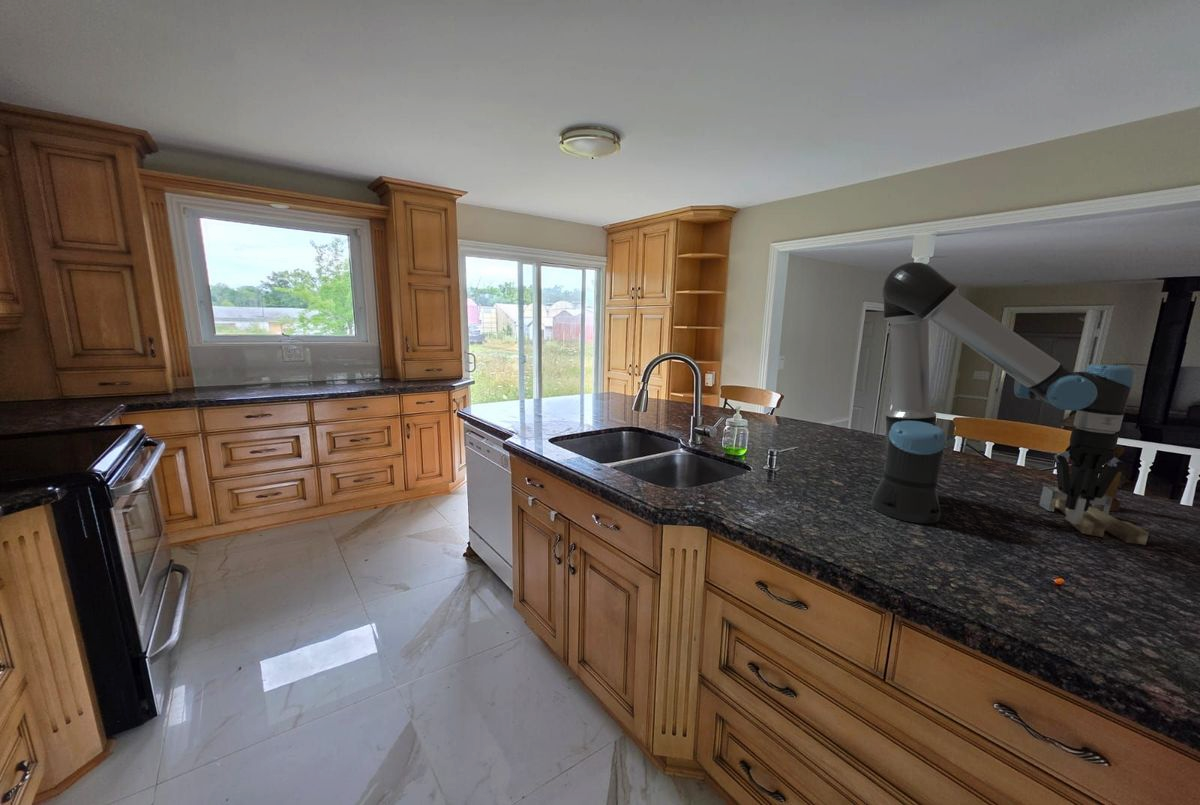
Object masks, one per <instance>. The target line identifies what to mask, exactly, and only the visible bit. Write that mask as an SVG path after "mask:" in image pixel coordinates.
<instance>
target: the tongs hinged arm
mask: <svg viewBox="0 0 1200 805" xmlns="http://www.w3.org/2000/svg"><path fill="white" fill-rule="evenodd" d="M1065 503H1066V500H1058V499H1057V501H1056V505H1055V508H1057V509H1058V510H1059V511H1061V512H1062V513H1063V514H1065V515H1067V511H1068V508H1066V507H1065ZM1070 524H1071V526H1073V527H1074V528H1075V529H1077V530H1078V531H1079V532H1080V533H1081V534H1084V535H1089V536H1095V537H1098V538H1099V537H1100V538H1104V534H1105V531H1106V530H1105V527H1106V525H1105V524H1103V523H1102V522H1101V521H1099V520H1098V519H1096V518H1095V517H1094V516H1092V515H1091V514H1090V513H1088V512H1087V511H1083V515H1082V519H1081V523H1080V525H1078V524H1073V523H1071V522H1070Z"/></svg>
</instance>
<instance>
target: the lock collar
mask: <svg viewBox="0 0 1200 805" xmlns="http://www.w3.org/2000/svg"><path fill="white" fill-rule="evenodd" d="M1057 499H1058V500H1066V499H1067V494H1065V493H1063V492H1061V491H1059V490H1058V486H1050V485H1049V486H1048V485H1043V486H1042V492H1041V495H1040V500H1039V504H1038V505H1039V506H1040V507H1042V508H1043V509H1045V510H1046V511H1048V512H1055V508H1056V506H1055V505H1056V501H1057ZM1112 499H1113V498H1112V497H1110V496H1108V495H1105V494H1104V495H1103V497H1102V498H1095V500H1093V501H1091V500H1090V503H1091V504H1092V506H1093V507H1095V508H1097V509H1098V510H1100V511H1102V512H1104V513H1106V514H1108V515H1110V514H1109V513H1110V511H1109V510H1110V506H1111V502H1112Z"/></svg>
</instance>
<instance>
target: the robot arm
mask: <svg viewBox="0 0 1200 805" xmlns="http://www.w3.org/2000/svg"><path fill="white" fill-rule="evenodd" d="M882 298H883V319H884V320H885V321H886V322H887V323H889V325H890V352H891V353H890V356H891V357H890V359H891V361H890V364H891V365H890V366H891V368H890V369H891V371H890V372H891V409H890V410H888V412H886V413H885V423H886V424H885V426H886V427H885V429H886V430H885V443H886V456H885V463H884V468H883V473H882V474H883V476H882V479H881V480H880V481H879V484H878V485H877V487H876V489H875V490H874V492H873V494H872V496H871V500H870V501H871V502H870V506H871V507H872V508H873V509H874V510H876V511H877V512H879V513H881V514H882V515H885V516H886V517H887V516H888V517H890V518H893V519H897V520H900V521H905V522H908V523H916V524H925V525H926V524H934V523H938V522H939V521H940V518H941V513H942V512H941V510H942V509H941V505H940V500H939V496H938V492H937V485H938V480H939V475H940V470H941V464H942V459H943V455H944V454H943V452H944V448H945V446H946V443H947V442H946V433H945V430H944V429H942V428H941V427H939V426H938V425H937V413H935V412H934V411H933V410H932V409H930V366H929V365H930V364H929V363H930V362H929V361H930V360H929V359H930V358H929V356H930V355H929V354H930V353H929V352H930V351H929V349H930V346H929V345H930V341H929V340H930V339H929V333H930V332H929V321H932V322H934V323H935V324H936V325H938V326H939V327H941V328H942V329H943V330H945V331H946V332H948V333H949V334H951V336H954V337H955V338H956V339H957V340H959V341H961V342H962V343H963V344H965V345H966V346H967V347H969V348H971V350H974V351H975V353H977V354H979V355H980V356H982V357H983V358H984V359H986V360H988V361H989V362H990V363H991V364H993V365H995V366H996V367H997V368H998V369H1000V370H1001V371H1003V372H1005V373H1006V374H1007V375H1008V376H1010V377H1012V378H1013V379H1014V383H1013V393H1014V395H1015V397H1016V398H1020V399H1027V400H1030V401H1031V400H1035V401H1036V400H1038V401H1041V402H1044V403H1046V404H1048V405H1051V406H1052V407H1054V408H1055V409H1059V410H1062V411H1063V410H1065V411H1076V413H1075V416H1074V421H1073V426H1075V427H1073V428H1072V429H1071V432H1070V433H1071V434H1070V437H1069V446H1067V447H1066V448H1065V451H1063V452H1060V453H1056V452H1055V453H1052V456H1051V457H1052V459H1053V460H1054V461H1055V466H1056V469H1055V470H1056V477H1057V478H1056V479H1057V487H1058V490H1059V491H1061V492H1063V493H1065V494H1067V499H1066V503H1065V507H1066V508H1068V511H1067V515H1066V514H1065V515H1066V516H1065V520H1066V521H1068V522H1069V523H1070V524H1071V523H1073V524H1078V525H1080V523H1081V519H1082V515H1083V511H1087V510H1088V507H1089V504H1090V500H1091V501H1093V500H1095V498H1102V497H1103V495H1104V494H1105V492H1106V491H1107V489H1108V487H1109V486H1110V484H1111V483H1112V481H1113V479H1114V478H1115V476H1116V474H1117V473H1118V471H1119V470H1121V471H1122V469H1123V468H1125V467H1126V466H1127V464H1126V462H1125V461H1122V460H1119V459H1116V458H1115V454H1114V451H1113V450H1114V448H1116V445H1118V441H1119V436H1120V435H1119V434H1118V433H1117V432H1120V431H1121V428H1122V422H1123V419H1124V416H1125V411H1126V407H1127V404H1128V400H1129V397H1130V394H1131V390H1132V389H1133V383H1134V382H1133V381H1134V376H1135V375H1134V374H1135V373H1134V372H1135V371H1134V369H1133V368H1132V367H1129V366H1126V365H1114V364H1098V363H1097V364H1095V363H1091V364H1088V365H1087V366H1086V369H1085V370H1084V371H1072V370H1071V369H1070V368H1068V367H1067V366H1065V365H1063V364H1061V362H1059V361H1058V360H1056V359H1055V358H1053V357H1052V356H1051V355H1049V354H1047V353H1046V352H1045V351H1043V350H1042V349H1040V348H1038V347H1037V346H1035V344H1033V343H1031V342H1029V341H1028V340H1027V339H1025V338H1024V337H1022V336H1021V335H1019V334H1018V333H1016V332H1015V331H1013V330H1012V329H1010V328H1009V327H1007V326H1006V325H1004V323H1002V322H1000V321H998V319H996V318H994V317H993V316H992V315H990V314H988V313H987V312H985V311H984V310H982V309H981V308H979V307H978V306H976V305H975V304H973V302H971V301H970V300H968V299H966V298H965V297H963V296H962V295H960V294H959V287H958V286H956V285H955V284H953V283H952V282H950V281H949V280H948V279H947V278H945V277H944V276H943V275H941V273H939V272H938V271H937V270H936V269H935V268H933V267H932V266H930V265H928V264H926V263H923V262H918V261H915V262H907V263H904V264H901V265H899V266H898V267H896V268H894V269H893V270H892V271H891V272H890V273H889V274H888V276H887V277H886V279H885V281H884V284H883V288H882ZM1069 461H1071V473H1070V466H1069ZM1102 467H1104V468H1103V470H1102ZM1101 470H1102V472H1101ZM1099 473H1100V475H1099ZM1098 476H1099V477H1098Z"/></svg>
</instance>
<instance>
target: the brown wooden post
mask: <svg viewBox="0 0 1200 805" xmlns="http://www.w3.org/2000/svg"><path fill="white" fill-rule="evenodd" d="M1113 451H1114V454H1115V458H1116V459H1118V458H1120V457H1121V456H1122V455H1123V454H1124V453H1125V448H1124V447H1123V445H1120V444H1117V445H1116V448H1114V450H1113ZM1118 460H1119V459H1118ZM1104 467H1105V466H1102V470H1103V468H1104ZM1102 470H1101V472H1102ZM1122 473H1123V470H1122V469H1121V470H1119V471H1118V473H1117V474H1116V476H1115V478H1114V479H1113V481H1112V483H1111V484H1110V486H1109V487H1108V489H1107V491H1106V492H1105V495H1108V496H1110V497H1112V498H1113V499H1112V502H1111V506H1110V510H1109V512H1111V511H1112V512H1119V510H1120V506H1121V501H1119V500H1118V499H1117V498H1116V494H1117V491H1118V487H1119V485H1120V484H1119V483H1120V480H1121V476H1122ZM1099 475H1100V473H1099ZM1099 475H1098V477H1099ZM1089 505H1091V506H1092V504H1091V503H1090V504H1089Z"/></svg>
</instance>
